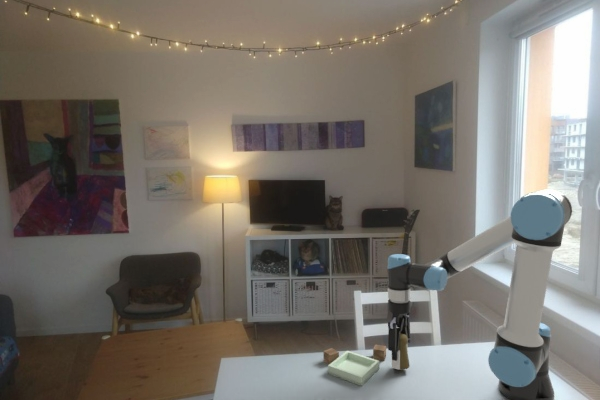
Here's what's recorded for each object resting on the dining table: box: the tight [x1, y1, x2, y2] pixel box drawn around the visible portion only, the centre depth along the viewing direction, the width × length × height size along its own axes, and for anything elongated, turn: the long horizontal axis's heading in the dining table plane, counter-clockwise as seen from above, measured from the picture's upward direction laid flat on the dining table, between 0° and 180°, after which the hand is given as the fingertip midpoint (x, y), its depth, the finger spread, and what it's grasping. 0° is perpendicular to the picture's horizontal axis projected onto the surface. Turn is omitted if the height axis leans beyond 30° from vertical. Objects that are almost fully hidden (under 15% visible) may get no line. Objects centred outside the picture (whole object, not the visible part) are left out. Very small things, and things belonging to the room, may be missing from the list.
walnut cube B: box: [323, 347, 340, 366], centre depth 147 cm, size 4×4×4 cm
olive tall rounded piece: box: [399, 333, 411, 371], centre depth 140 cm, size 6×6×11 cm
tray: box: [327, 350, 380, 387], centre depth 141 cm, size 13×13×3 cm
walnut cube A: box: [372, 344, 387, 362], centre depth 150 cm, size 4×4×4 cm
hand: (399, 364), depth 141 cm, fingers closed on olive tall rounded piece, 6 cm apart
